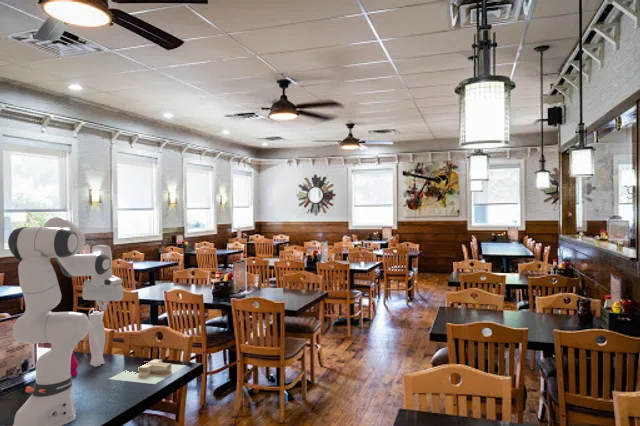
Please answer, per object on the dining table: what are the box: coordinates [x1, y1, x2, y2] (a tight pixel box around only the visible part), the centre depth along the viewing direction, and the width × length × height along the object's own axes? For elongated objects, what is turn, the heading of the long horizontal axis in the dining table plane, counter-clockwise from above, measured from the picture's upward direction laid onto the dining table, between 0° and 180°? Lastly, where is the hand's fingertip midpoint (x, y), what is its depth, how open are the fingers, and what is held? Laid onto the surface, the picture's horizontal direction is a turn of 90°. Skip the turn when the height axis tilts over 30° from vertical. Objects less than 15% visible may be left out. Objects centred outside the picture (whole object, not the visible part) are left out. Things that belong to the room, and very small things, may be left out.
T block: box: [138, 358, 172, 377], centre depth 210 cm, size 12×12×4 cm
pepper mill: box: [70, 347, 79, 378], centre depth 209 cm, size 7×7×20 cm
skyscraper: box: [88, 307, 106, 368], centre depth 224 cm, size 8×7×28 cm
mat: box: [108, 363, 187, 385], centre depth 211 cm, size 24×25×1 cm
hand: (102, 309), depth 206 cm, fingers closed
